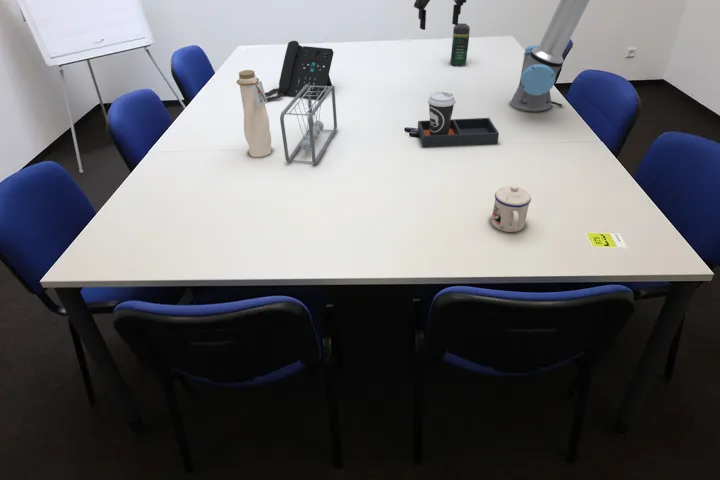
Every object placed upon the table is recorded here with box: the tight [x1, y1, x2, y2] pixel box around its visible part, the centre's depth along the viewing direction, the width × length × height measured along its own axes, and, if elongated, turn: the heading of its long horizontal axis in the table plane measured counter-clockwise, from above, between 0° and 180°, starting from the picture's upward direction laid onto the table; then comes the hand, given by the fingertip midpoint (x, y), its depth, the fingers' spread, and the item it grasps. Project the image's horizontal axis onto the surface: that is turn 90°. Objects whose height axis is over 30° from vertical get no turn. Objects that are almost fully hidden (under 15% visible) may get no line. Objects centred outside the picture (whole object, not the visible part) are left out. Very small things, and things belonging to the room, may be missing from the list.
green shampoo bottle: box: [450, 22, 471, 67], centre depth 234 cm, size 10×8×19 cm
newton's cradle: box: [279, 84, 338, 166], centre depth 164 cm, size 30×10×18 cm, turn 168°
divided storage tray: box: [417, 117, 500, 148], centre depth 171 cm, size 26×14×4 cm, turn 92°
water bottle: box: [236, 69, 272, 158], centre depth 159 cm, size 10×9×28 cm
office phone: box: [265, 40, 334, 102], centre depth 206 cm, size 29×28×20 cm
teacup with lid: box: [491, 184, 532, 233], centre depth 124 cm, size 12×9×12 cm
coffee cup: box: [427, 91, 457, 135], centre depth 167 cm, size 10×10×15 cm
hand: (438, 26), depth 174 cm, fingers open, 13 cm apart
